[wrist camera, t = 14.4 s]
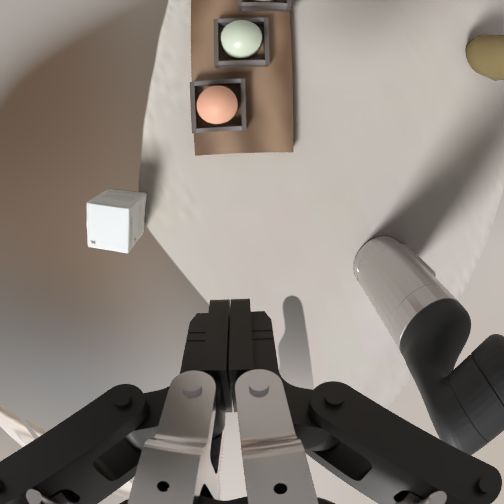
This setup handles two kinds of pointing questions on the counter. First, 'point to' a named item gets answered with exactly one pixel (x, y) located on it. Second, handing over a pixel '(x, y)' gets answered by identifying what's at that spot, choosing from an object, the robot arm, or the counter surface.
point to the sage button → (241, 39)
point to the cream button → (263, 0)
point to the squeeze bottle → (487, 55)
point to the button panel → (243, 77)
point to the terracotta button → (217, 104)
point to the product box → (116, 219)
